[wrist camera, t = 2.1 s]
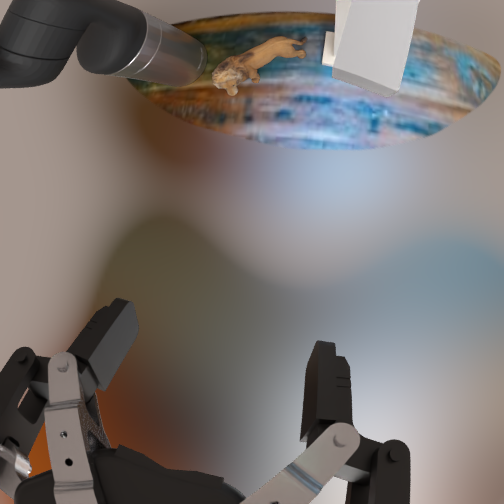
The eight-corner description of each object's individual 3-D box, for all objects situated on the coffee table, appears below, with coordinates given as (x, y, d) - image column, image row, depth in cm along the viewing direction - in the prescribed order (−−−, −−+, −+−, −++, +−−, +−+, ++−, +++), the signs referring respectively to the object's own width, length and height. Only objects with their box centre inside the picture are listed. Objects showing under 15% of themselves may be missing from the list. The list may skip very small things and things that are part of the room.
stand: (322, 65, 34) (299, -74, 6) (326, 32, 32) (307, -123, 3) (381, 79, 33) (485, -19, 4) (385, 45, 30) (467, -80, 1)
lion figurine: (242, 104, 40) (221, 98, 32) (221, 81, 39) (197, 71, 31) (317, 50, 34) (314, 30, 26) (295, 27, 33) (286, 4, 25)
